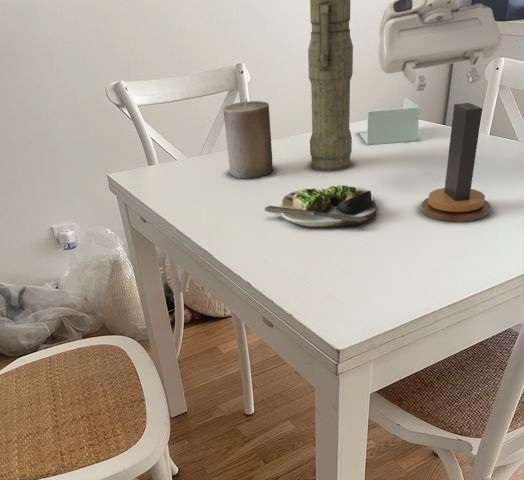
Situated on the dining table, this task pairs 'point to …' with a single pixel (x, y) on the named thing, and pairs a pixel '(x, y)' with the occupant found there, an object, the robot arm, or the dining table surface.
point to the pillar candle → (248, 139)
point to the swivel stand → (455, 213)
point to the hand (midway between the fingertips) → (447, 84)
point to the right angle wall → (392, 124)
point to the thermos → (330, 84)
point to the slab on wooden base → (460, 163)
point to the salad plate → (327, 207)
